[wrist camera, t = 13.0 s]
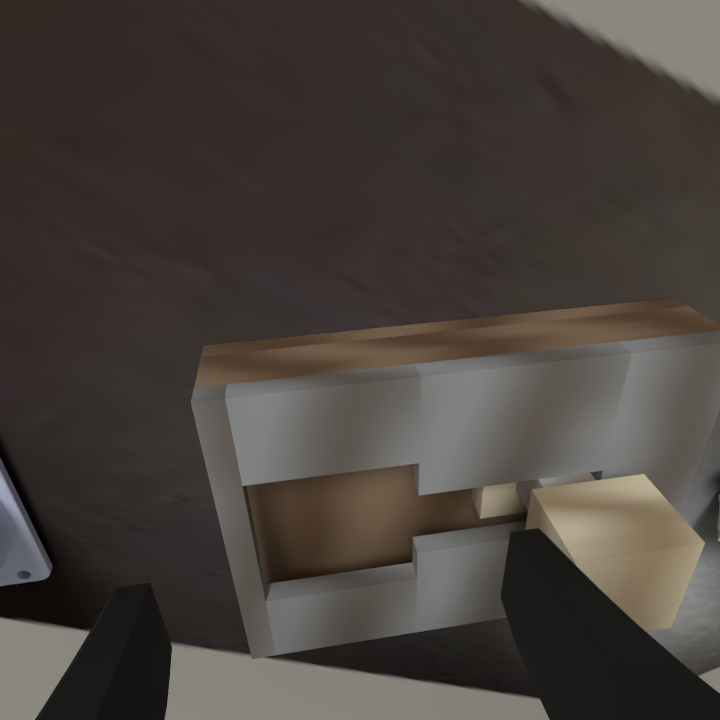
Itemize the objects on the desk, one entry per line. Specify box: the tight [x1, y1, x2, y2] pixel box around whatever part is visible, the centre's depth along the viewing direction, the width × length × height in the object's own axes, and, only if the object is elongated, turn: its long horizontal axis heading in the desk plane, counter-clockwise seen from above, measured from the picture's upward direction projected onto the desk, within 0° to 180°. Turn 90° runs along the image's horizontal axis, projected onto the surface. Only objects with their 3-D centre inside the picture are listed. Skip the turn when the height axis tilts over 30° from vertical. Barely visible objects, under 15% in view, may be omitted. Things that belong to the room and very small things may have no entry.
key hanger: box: [471, 472, 705, 631], centre depth 20 cm, size 5×5×7 cm
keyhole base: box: [191, 298, 720, 659], centre depth 22 cm, size 18×13×4 cm
